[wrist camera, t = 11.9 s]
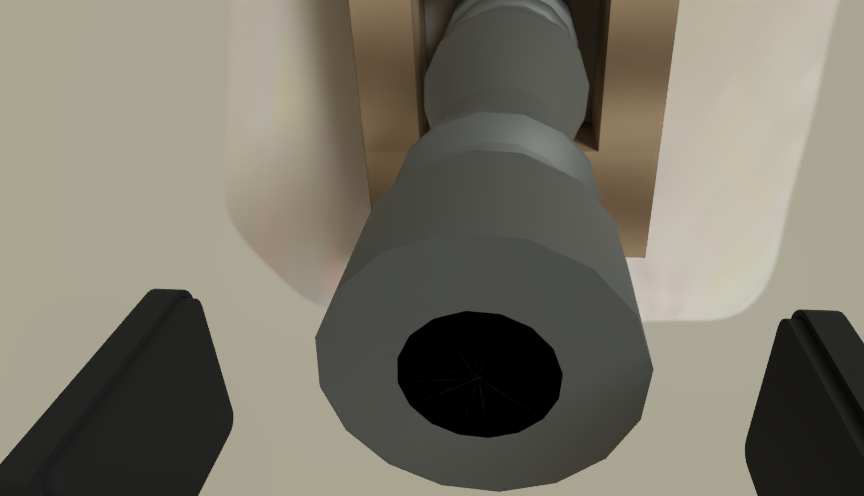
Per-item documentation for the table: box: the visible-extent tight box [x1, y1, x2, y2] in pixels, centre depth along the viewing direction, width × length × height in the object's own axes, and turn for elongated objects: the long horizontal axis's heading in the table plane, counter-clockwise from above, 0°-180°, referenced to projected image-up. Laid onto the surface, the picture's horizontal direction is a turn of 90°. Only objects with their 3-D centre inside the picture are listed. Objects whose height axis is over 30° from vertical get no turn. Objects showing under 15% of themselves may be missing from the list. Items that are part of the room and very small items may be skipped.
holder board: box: [349, 0, 679, 258], centre depth 31 cm, size 20×14×4 cm
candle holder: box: [315, 0, 653, 492], centre depth 22 cm, size 6×6×25 cm
